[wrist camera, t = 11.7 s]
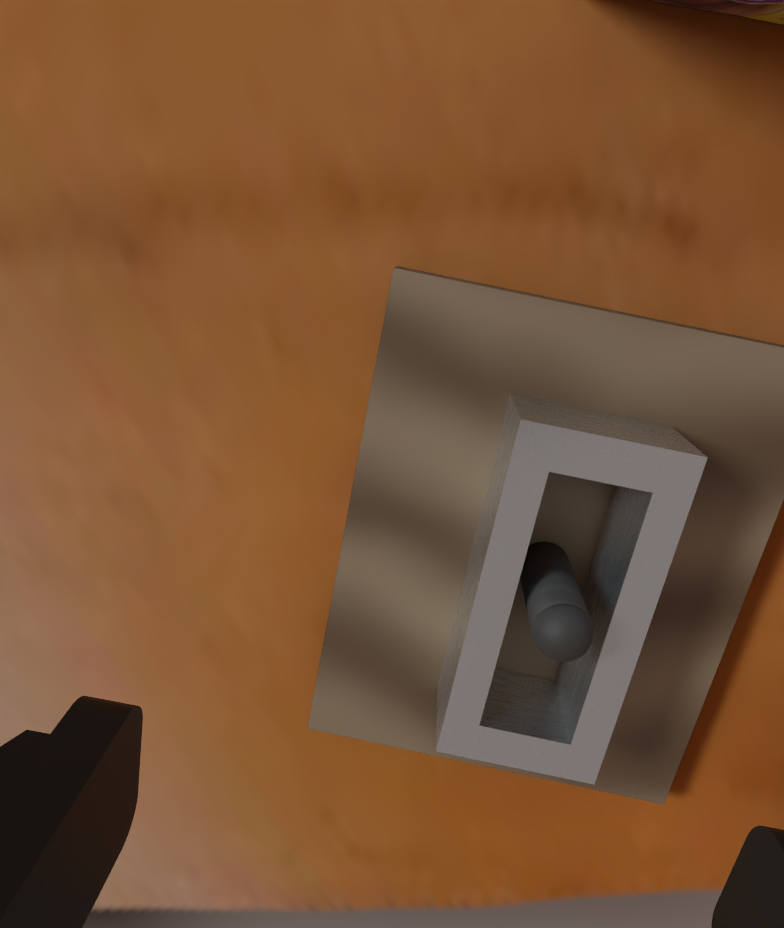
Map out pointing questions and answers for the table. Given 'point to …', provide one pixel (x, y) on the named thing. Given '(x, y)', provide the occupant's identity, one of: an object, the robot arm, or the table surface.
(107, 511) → the table surface
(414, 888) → the table surface
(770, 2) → the candy box
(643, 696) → the keeper plate
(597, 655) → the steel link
